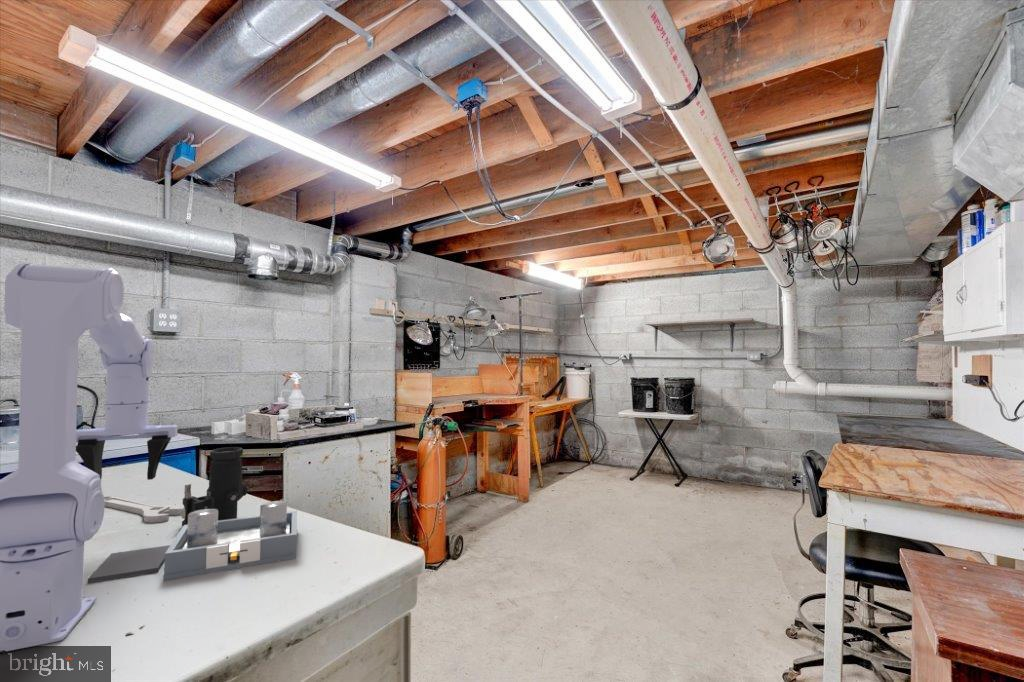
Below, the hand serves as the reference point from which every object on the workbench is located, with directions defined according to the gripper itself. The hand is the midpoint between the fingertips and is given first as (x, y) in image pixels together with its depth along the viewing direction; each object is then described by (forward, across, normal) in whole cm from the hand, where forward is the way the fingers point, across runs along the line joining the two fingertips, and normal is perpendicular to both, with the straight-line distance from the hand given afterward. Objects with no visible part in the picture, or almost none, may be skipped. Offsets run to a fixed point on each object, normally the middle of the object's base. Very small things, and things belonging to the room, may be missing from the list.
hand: (124, 480), depth 79 cm
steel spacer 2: (+8, -24, +14) cm, 29 cm away
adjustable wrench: (+11, +2, -18) cm, 21 cm away
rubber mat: (+10, -5, +13) cm, 17 cm away
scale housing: (+10, -19, +14) cm, 26 cm away
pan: (+9, -19, +15) cm, 26 cm away
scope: (+10, -14, -2) cm, 18 cm away
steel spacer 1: (+8, -14, +14) cm, 22 cm away
